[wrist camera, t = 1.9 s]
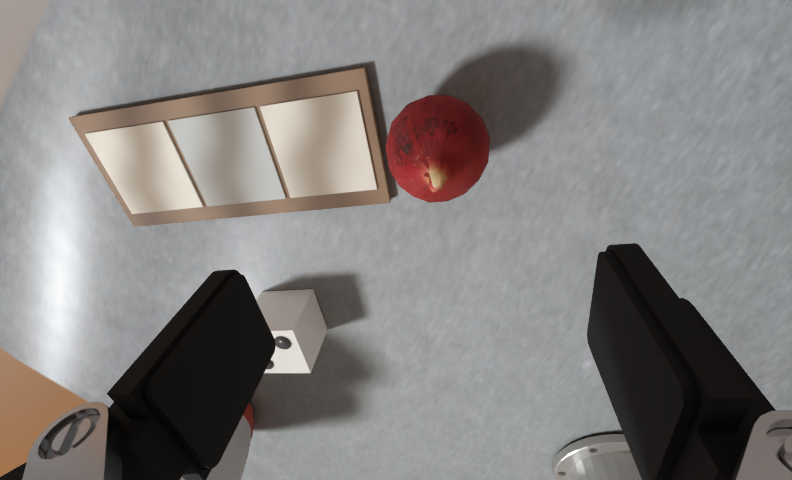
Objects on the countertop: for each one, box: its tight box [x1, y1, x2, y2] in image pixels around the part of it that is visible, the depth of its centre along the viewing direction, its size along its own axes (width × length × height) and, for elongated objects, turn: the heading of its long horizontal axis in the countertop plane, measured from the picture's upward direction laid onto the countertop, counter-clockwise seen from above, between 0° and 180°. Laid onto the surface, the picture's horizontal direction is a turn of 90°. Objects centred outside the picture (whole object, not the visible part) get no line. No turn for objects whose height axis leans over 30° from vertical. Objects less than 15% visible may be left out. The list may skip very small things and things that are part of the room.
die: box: [256, 289, 327, 373], centre depth 33 cm, size 5×5×5 cm
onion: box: [385, 95, 490, 202], centre depth 21 cm, size 6×6×8 cm
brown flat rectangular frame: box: [69, 67, 391, 227], centre depth 27 cm, size 22×9×1 cm, turn 99°
